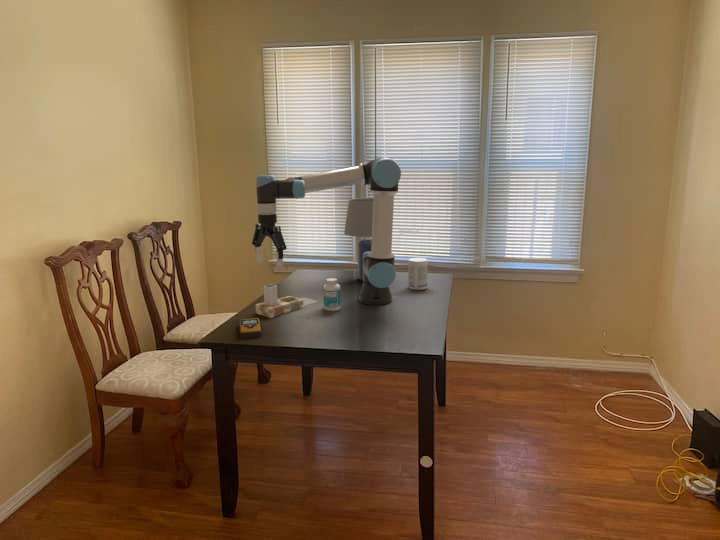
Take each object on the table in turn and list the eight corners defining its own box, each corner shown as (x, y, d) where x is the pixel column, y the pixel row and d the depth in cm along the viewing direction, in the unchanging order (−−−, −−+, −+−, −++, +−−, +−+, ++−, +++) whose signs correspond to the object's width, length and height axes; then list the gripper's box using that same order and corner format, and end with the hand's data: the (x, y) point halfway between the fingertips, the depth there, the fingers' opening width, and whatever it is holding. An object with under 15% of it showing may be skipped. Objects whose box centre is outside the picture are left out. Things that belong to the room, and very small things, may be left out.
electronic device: (239, 340, 192) (239, 332, 191) (239, 326, 207) (238, 318, 206) (262, 338, 194) (262, 329, 193) (260, 324, 209) (259, 316, 208)
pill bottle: (333, 305, 232) (332, 276, 229) (344, 309, 227) (343, 279, 224) (320, 309, 227) (319, 279, 224) (331, 312, 222) (330, 282, 219)
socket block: (303, 308, 228) (303, 299, 227) (270, 318, 215) (270, 308, 214) (288, 304, 235) (288, 295, 234) (256, 313, 222) (255, 303, 221)
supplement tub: (427, 286, 265) (428, 257, 262) (426, 290, 256) (427, 261, 253) (408, 285, 267) (409, 257, 264) (407, 290, 258) (407, 261, 254)
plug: (278, 313, 222) (276, 284, 219) (270, 315, 219) (269, 286, 216) (272, 311, 224) (271, 283, 222) (264, 313, 222) (263, 284, 219)
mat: (318, 302, 237) (318, 301, 237) (302, 307, 230) (302, 306, 230) (304, 298, 244) (304, 297, 244) (287, 302, 237) (287, 301, 237)
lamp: (348, 273, 292) (348, 197, 283) (393, 274, 289) (394, 197, 279) (341, 284, 268) (339, 201, 258) (389, 286, 265) (390, 202, 255)
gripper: (293, 214, 206) (295, 266, 211) (256, 210, 223) (259, 258, 228) (279, 216, 201) (281, 270, 206) (241, 212, 218) (244, 261, 222)
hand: (269, 264), depth 217 cm, fingers open, 13 cm apart
